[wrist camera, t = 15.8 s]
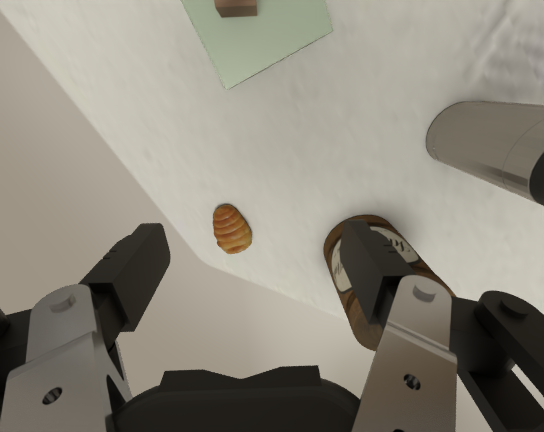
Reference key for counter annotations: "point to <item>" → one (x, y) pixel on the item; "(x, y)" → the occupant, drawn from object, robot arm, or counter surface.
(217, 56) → the green board
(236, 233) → the pastry
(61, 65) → the counter surface
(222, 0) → the walnut block
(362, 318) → the wooden container
